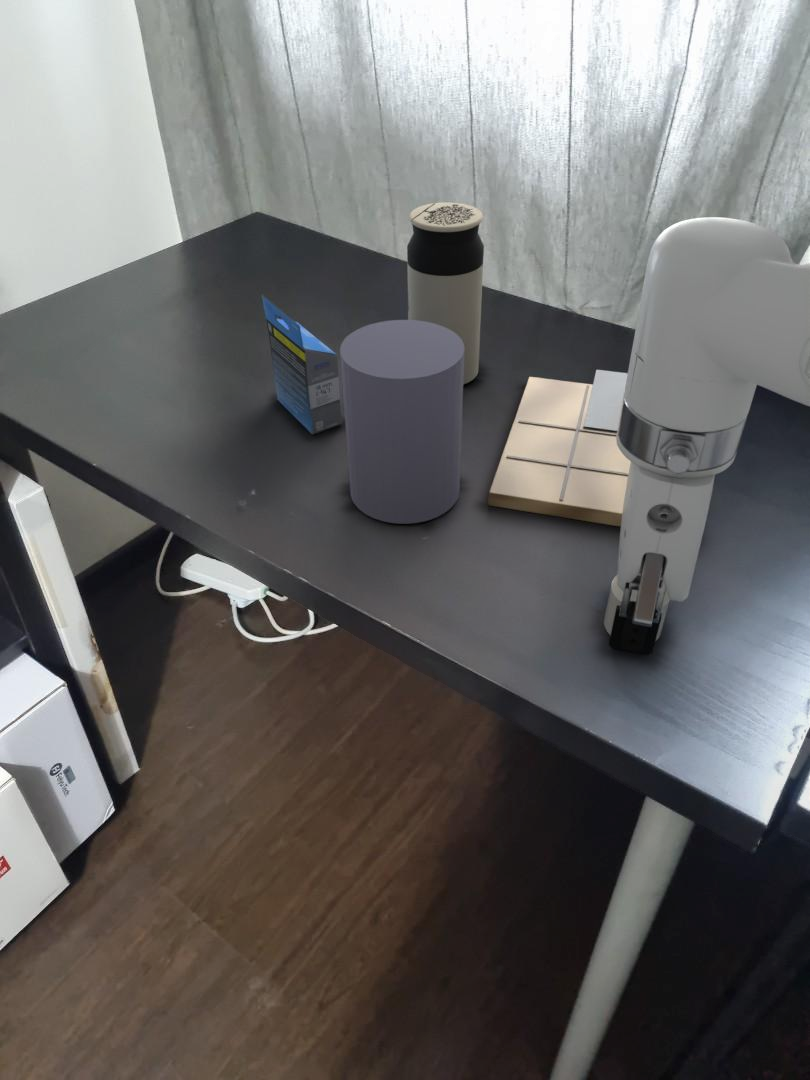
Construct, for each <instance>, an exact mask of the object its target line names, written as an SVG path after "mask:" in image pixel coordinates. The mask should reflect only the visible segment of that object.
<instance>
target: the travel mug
mask: <svg viewBox="0 0 810 1080" xmlns="http://www.w3.org/2000/svg"><path fill="white" fill-rule="evenodd" d="M483 219H484V215H483V212H482V211H481V210H480V209H479V208H477V207H475V206H472V205H469V204H466V203H460V202H451V201H450V202H448V201H447V202H446V201H445V202H433V203H427V204H423V205H421V206H418V207H416V208H414V209H413V210H412V211H410V213H409V215H408V220H409V222H410V223H411V226H412V231H413V233H412V235H411V237H410V240H409V241H408V243H407V245H406V252H407V253H406V255H407V317H408V318H407V320H417V321H425V322H430V323H434V324H437V325H440V326H443V327H445V328H447V329H449V330H451V331H453V332H454V333H456V334H457V335H458V336H459V337H460V338H461V340H462V341H463V344H464V373H463V385H465V384H468V383H470V382H471V381H473V380H474V379H476V377H478V374H479V363H480V344H481V343H480V341H481V323H482V322H481V321H482V319H481V318H482V298H483V276H484V275H483V274H484V253H485V245H484V242H483V241H482V238H481V236H480V234H479V229H480V224H481V223H482V222H483Z"/></svg>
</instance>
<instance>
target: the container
mask: <svg viewBox="0 0 810 1080" xmlns="http://www.w3.org/2000/svg"><path fill="white" fill-rule="evenodd" d="M339 353H340V354H339V355H340V367H341V380H342V395H343V409H344V421H345V423H344V424H345V435H346V450H347V451H346V452H347V463H348V464H347V465H348V479H349V491H350V498H351V501H352V503H353V504H354V505H355V506H356V508H357V509H358V510H359V511H361V512H362V513H364V514H365V515H366V516H369V517H371V518H373V519H374V520H378V521H381V522H383V523H384V522H385V523H391V524H398V525H406V524H407V525H408V524H419V523H423V522H427V521H430V520H433V519H435V518H438V517H440V516H441V515H444V514H446V512H448V511H449V510H450V509H451V508H453V506H454V505H455V504H456V502H457V501H458V499H459V496H460V484H461V481H460V480H461V457H462V429H463V428H462V427H463V426H462V425H463V400H464V384H463V373H464V344H463V341H462V340H461V338H460V337H459V336H458V335H457V334H456V333H454V332H453V331H451V330H449V329H447V328H445V327H443V326H440V325H437V324H434V323H430V322H425V321H417V320H408V319H394V320H393V319H391V320H384V321H379V322H375V323H371V324H367V325H365V326H362V327H359V328H358V329H356V330H354V331H353V332H351V333H350V334H348V335H347V336H346V337H345V338H344V339H343V341H342V342H341V344H340V347H339Z"/></svg>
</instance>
